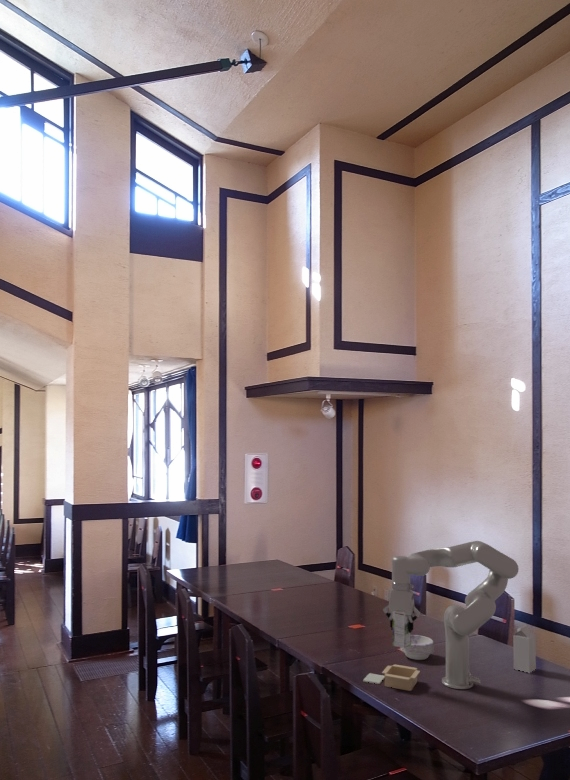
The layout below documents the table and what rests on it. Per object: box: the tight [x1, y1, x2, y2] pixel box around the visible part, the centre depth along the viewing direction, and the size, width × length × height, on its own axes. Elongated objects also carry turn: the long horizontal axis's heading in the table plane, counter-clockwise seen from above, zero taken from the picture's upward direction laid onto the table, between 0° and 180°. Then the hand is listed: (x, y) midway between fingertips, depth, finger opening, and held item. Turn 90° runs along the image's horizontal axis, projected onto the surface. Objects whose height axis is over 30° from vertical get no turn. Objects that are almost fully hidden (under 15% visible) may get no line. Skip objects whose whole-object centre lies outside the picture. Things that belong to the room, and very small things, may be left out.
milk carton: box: [512, 624, 537, 674], centre depth 282 cm, size 7×7×19 cm
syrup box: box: [392, 611, 412, 649], centre depth 264 cm, size 6×6×14 cm
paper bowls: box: [400, 634, 435, 661], centre depth 297 cm, size 15×15×8 cm
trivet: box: [362, 672, 385, 685], centre depth 267 cm, size 7×9×1 cm
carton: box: [381, 664, 421, 692], centre depth 262 cm, size 14×15×5 cm
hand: (401, 630), depth 264 cm, fingers closed on syrup box, 6 cm apart
